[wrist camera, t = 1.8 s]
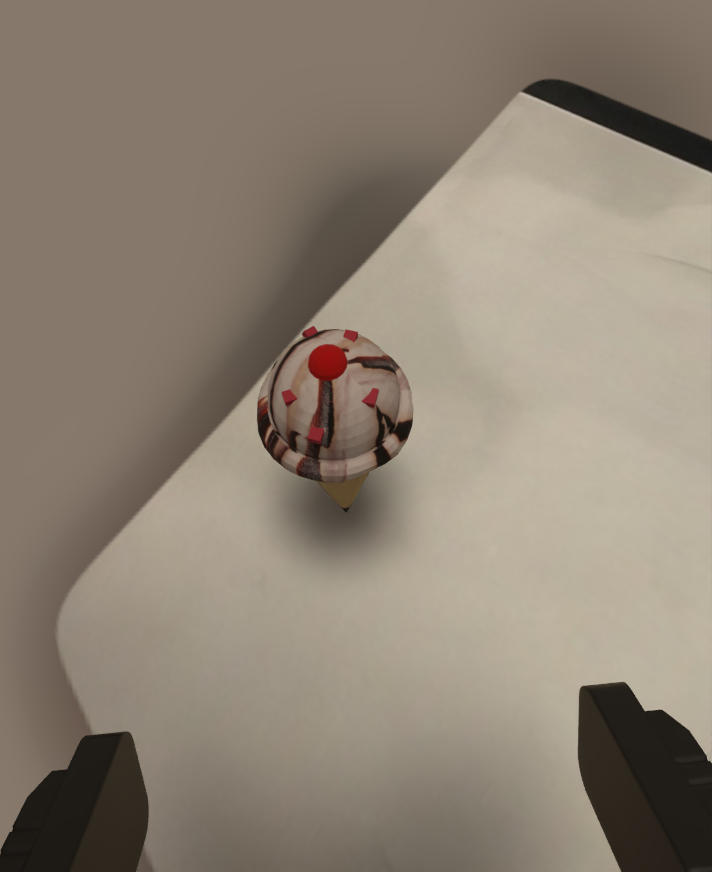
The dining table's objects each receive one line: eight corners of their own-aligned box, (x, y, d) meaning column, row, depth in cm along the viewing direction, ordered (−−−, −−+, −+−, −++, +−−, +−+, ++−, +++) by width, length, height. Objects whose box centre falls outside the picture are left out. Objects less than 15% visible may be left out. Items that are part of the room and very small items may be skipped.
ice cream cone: (311, 448, 36) (271, 261, 23) (415, 473, 35) (438, 295, 22) (277, 549, 34) (210, 407, 20) (387, 578, 33) (394, 451, 19)
